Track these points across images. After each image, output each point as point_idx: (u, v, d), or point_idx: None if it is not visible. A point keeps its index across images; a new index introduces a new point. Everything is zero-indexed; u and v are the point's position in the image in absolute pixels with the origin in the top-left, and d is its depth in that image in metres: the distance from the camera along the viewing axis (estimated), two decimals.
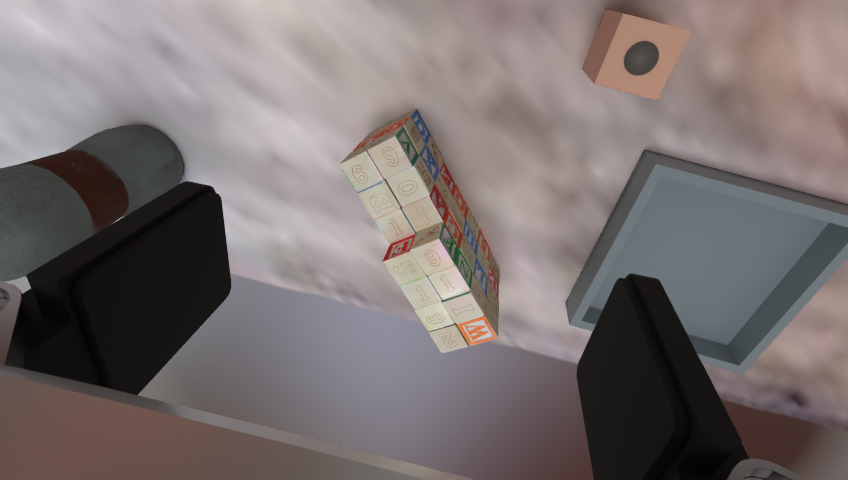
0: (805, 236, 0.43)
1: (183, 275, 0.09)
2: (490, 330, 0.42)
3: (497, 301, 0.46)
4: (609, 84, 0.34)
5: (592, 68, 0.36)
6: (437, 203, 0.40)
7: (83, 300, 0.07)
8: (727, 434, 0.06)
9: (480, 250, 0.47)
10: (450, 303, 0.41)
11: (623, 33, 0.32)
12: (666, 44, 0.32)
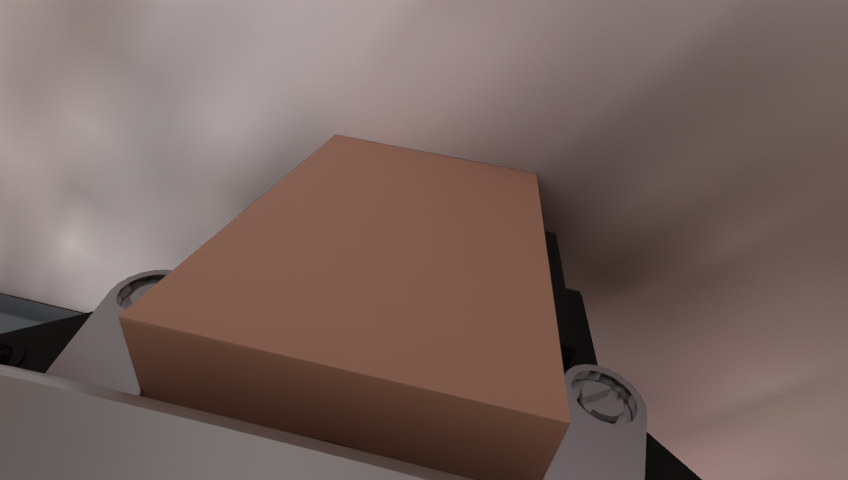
0: None
1: None
2: None
3: None
4: (154, 387, 0.05)
5: (288, 215, 0.07)
6: None
7: None
8: (565, 343, 0.07)
9: None
10: None
11: (445, 428, 0.05)
12: None
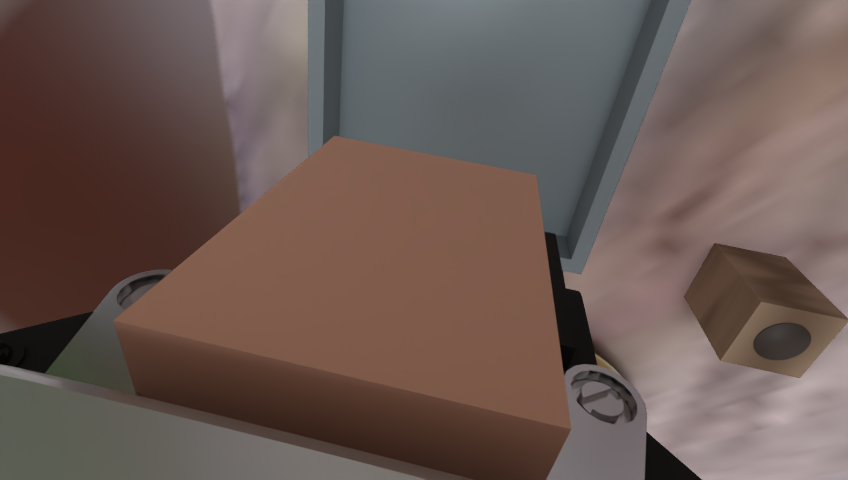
0: None
1: None
2: None
3: None
4: (150, 392, 0.05)
5: (286, 218, 0.07)
6: None
7: None
8: (565, 343, 0.07)
9: None
10: None
11: (445, 435, 0.05)
12: None
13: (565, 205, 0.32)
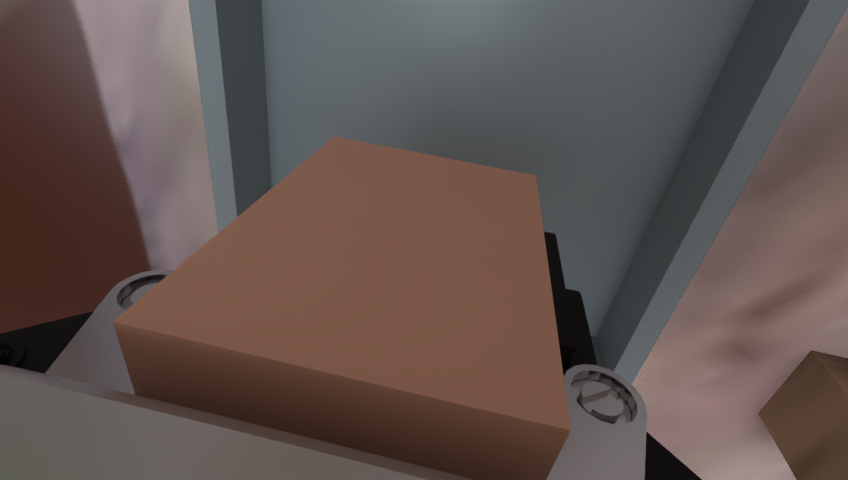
0: None
1: None
2: None
3: None
4: (150, 393, 0.05)
5: (286, 218, 0.07)
6: None
7: None
8: (565, 343, 0.07)
9: None
10: None
11: (444, 435, 0.05)
12: None
13: (596, 296, 0.22)
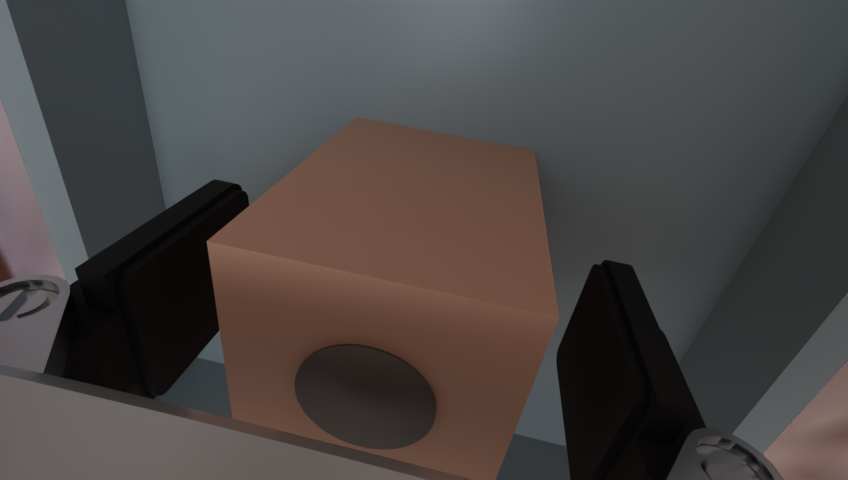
0: (553, 425, 0.17)
1: None
2: None
3: None
4: (228, 304, 0.07)
5: (325, 177, 0.08)
6: None
7: (127, 293, 0.07)
8: (682, 404, 0.06)
9: None
10: None
11: (462, 328, 0.06)
12: (430, 461, 0.08)
13: None
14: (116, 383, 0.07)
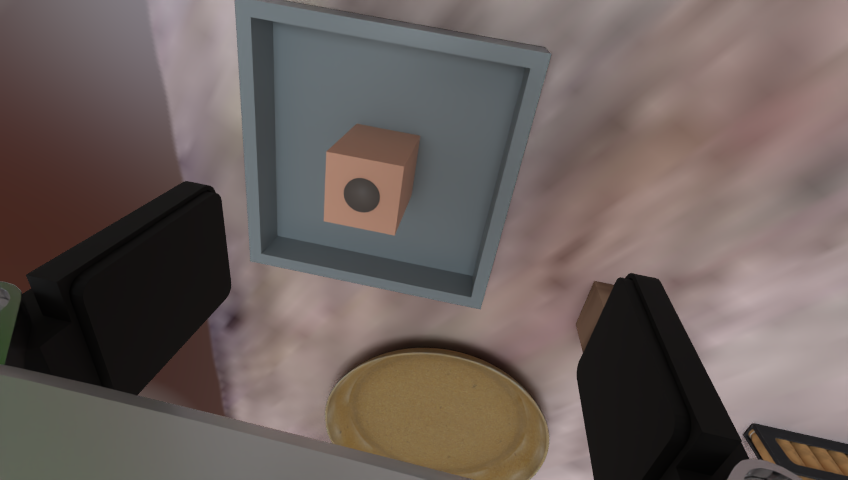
0: (442, 260, 0.38)
1: (183, 275, 0.09)
2: None
3: None
4: (329, 168, 0.28)
5: (349, 140, 0.30)
6: None
7: (83, 300, 0.07)
8: (726, 434, 0.06)
9: None
10: None
11: (384, 171, 0.27)
12: (379, 216, 0.29)
13: (469, 250, 0.37)
14: None
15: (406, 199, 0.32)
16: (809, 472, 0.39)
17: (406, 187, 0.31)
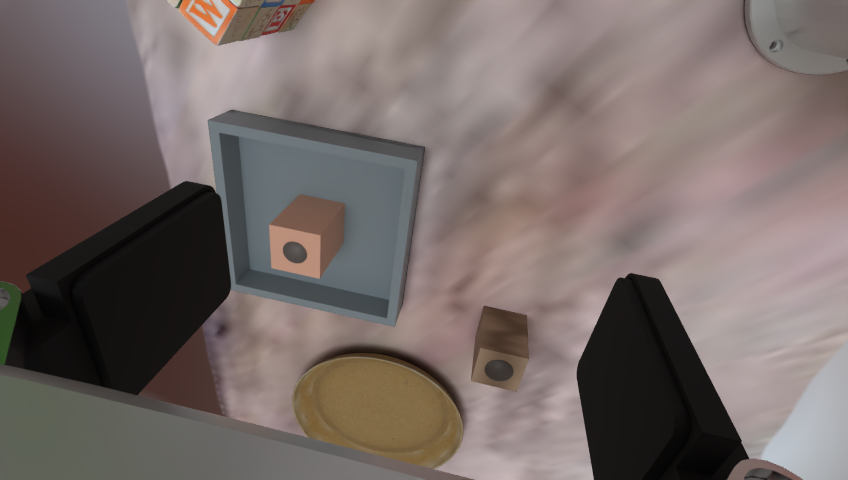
0: (370, 289, 0.51)
1: (183, 275, 0.09)
2: (220, 28, 0.28)
3: (258, 33, 0.33)
4: (271, 235, 0.41)
5: (289, 212, 0.43)
6: None
7: (83, 300, 0.07)
8: (727, 434, 0.06)
9: None
10: None
11: (308, 237, 0.40)
12: (308, 265, 0.42)
13: (388, 282, 0.50)
14: None
15: (333, 250, 0.45)
16: None
17: (330, 243, 0.44)
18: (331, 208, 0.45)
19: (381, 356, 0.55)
